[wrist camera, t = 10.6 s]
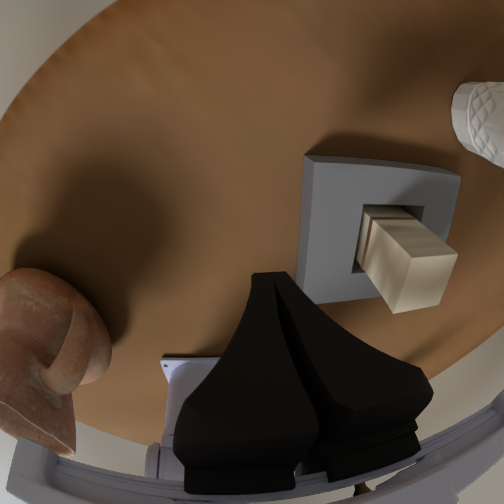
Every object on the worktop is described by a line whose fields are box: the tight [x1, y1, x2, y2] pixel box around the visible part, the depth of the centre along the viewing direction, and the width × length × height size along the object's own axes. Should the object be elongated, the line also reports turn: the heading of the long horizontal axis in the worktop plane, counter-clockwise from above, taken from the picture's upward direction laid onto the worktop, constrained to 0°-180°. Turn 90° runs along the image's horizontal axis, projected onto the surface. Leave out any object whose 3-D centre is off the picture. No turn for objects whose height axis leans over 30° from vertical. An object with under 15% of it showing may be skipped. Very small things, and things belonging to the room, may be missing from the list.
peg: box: [354, 205, 458, 314], centre depth 18 cm, size 4×4×8 cm
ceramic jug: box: [0, 267, 112, 457], centre depth 17 cm, size 18×14×14 cm
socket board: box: [295, 155, 461, 304], centre depth 20 cm, size 11×13×2 cm
